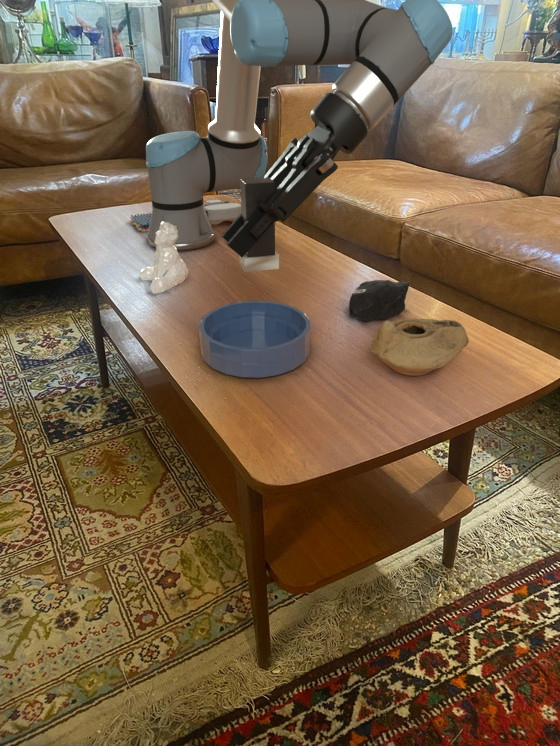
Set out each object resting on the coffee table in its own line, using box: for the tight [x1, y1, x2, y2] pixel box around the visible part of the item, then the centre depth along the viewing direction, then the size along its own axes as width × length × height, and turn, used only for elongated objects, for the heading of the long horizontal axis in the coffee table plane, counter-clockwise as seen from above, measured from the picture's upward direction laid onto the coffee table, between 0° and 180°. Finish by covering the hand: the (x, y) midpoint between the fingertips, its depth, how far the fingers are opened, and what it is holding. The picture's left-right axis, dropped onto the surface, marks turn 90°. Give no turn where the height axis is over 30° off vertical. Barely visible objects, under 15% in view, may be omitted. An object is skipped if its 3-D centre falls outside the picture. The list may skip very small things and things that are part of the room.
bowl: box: [198, 300, 311, 379], centre depth 82 cm, size 16×16×5 cm
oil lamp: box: [368, 318, 470, 376], centre depth 78 cm, size 11×15×8 cm
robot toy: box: [203, 199, 242, 225], centre depth 143 cm, size 12×4×15 cm
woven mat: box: [129, 212, 152, 233], centre depth 140 cm, size 10×11×2 cm
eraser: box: [238, 177, 280, 273], centre depth 76 cm, size 5×4×12 cm
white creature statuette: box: [140, 221, 189, 295], centre depth 104 cm, size 10×9×12 cm
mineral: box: [348, 279, 410, 322], centre depth 94 cm, size 10×9×6 cm
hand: (231, 246), depth 76 cm, fingers closed on eraser, 3 cm apart
